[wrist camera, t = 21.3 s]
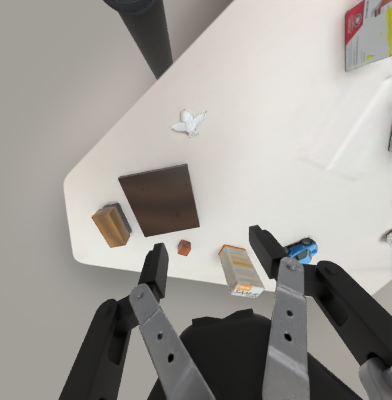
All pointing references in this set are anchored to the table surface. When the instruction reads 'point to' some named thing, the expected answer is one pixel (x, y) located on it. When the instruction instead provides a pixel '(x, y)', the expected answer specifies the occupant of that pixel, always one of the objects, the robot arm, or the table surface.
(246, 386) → the robot arm
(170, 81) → the table surface
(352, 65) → the ink box
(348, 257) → the table surface
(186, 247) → the reddish brown block
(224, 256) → the supplement box
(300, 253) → the toy car
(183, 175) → the tray
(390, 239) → the ornament
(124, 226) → the brush
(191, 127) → the white bird figurine
